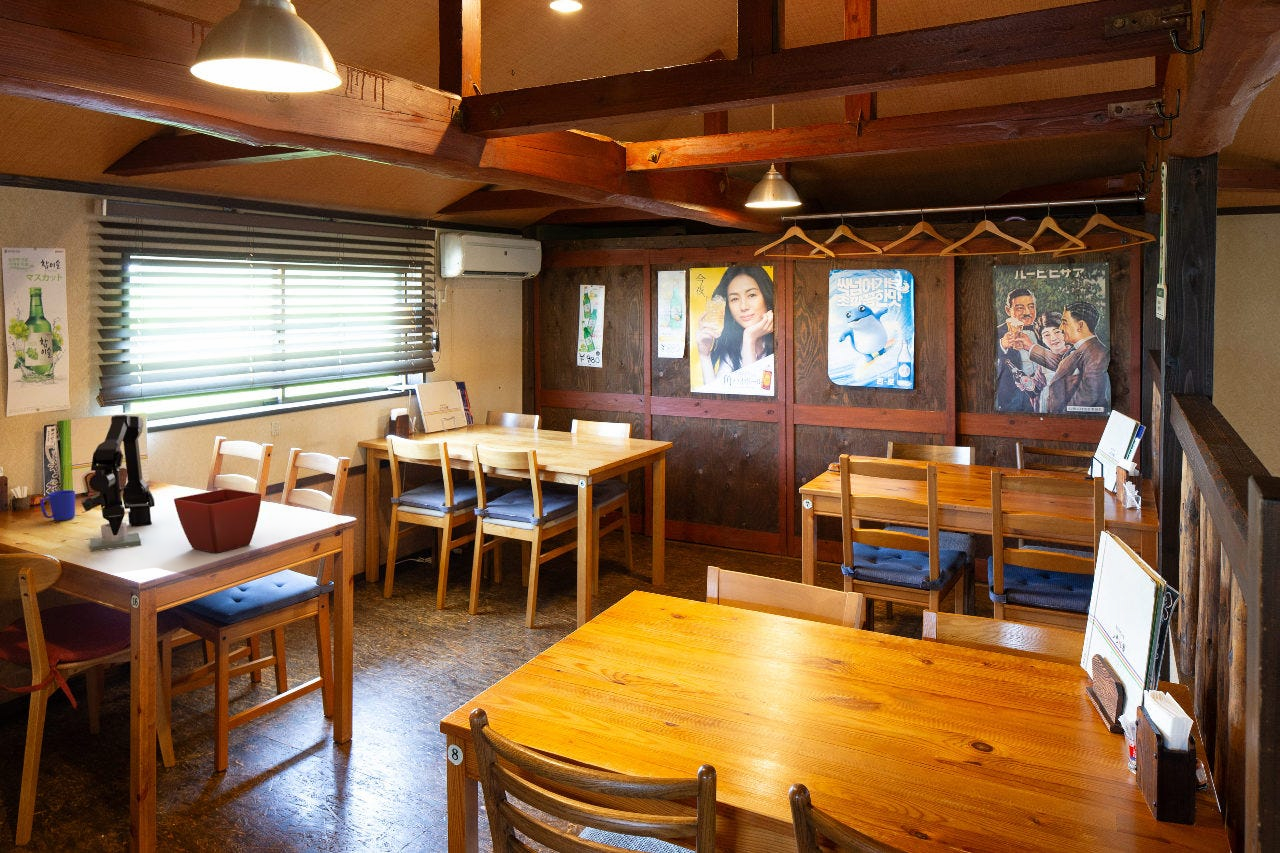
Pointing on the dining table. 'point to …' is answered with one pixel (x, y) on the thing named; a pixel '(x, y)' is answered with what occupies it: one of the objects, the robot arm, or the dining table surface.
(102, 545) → the post stand
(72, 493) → the mug
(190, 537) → the plant pot
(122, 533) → the tan faceted hollow ring
